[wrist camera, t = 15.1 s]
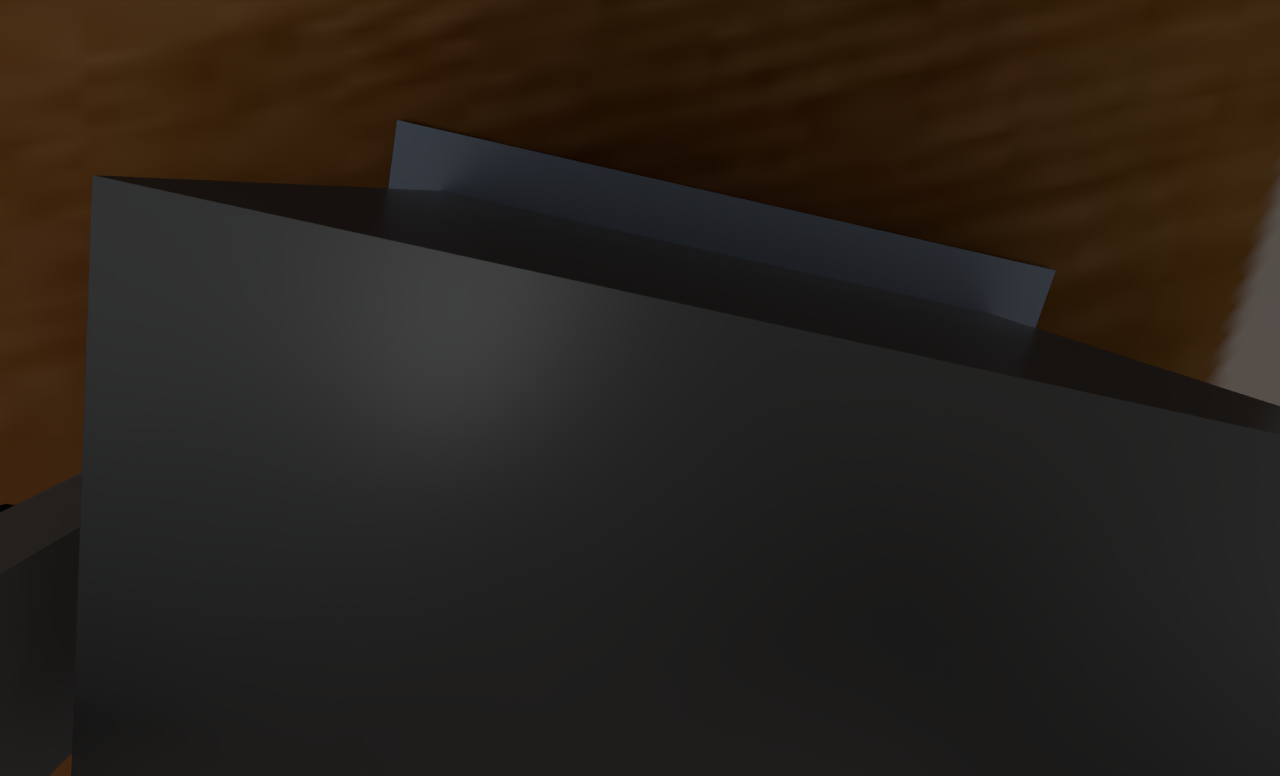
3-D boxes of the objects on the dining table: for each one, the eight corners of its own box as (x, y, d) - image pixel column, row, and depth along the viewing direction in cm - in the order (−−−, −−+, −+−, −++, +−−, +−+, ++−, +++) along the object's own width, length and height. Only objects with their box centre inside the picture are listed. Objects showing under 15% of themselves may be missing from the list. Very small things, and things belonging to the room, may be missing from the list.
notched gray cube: (443, 190, 13) (93, 174, 5) (985, 312, 14) (1555, 496, 5) (370, 678, 16) (55, 1253, 7) (834, 762, 16) (1055, 1386, 8)
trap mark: (400, 121, 13) (397, 120, 13) (1049, 269, 14) (1055, 270, 13) (324, 702, 16) (320, 708, 16) (862, 798, 16) (865, 806, 16)
